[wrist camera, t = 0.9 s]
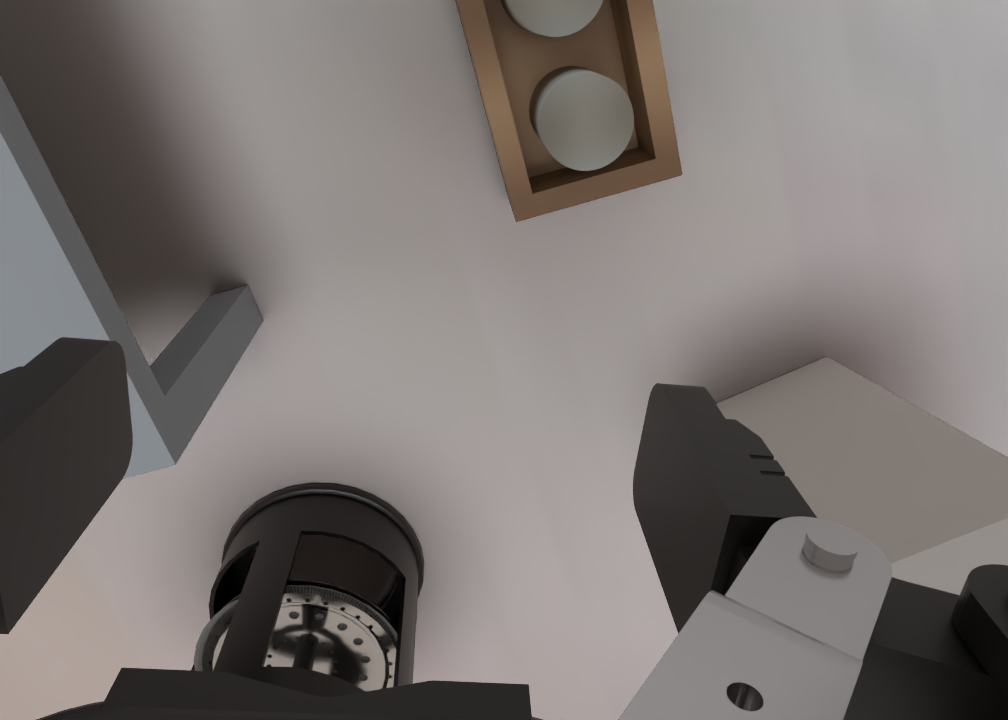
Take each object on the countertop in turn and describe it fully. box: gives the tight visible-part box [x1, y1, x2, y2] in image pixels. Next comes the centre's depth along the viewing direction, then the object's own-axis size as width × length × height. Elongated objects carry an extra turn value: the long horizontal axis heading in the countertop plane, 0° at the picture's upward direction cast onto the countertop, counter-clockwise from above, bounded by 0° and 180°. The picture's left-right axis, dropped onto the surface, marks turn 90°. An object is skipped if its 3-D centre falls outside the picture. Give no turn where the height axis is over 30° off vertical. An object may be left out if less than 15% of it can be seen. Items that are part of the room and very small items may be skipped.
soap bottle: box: [716, 357, 1008, 595], centre depth 24 cm, size 12×10×26 cm
